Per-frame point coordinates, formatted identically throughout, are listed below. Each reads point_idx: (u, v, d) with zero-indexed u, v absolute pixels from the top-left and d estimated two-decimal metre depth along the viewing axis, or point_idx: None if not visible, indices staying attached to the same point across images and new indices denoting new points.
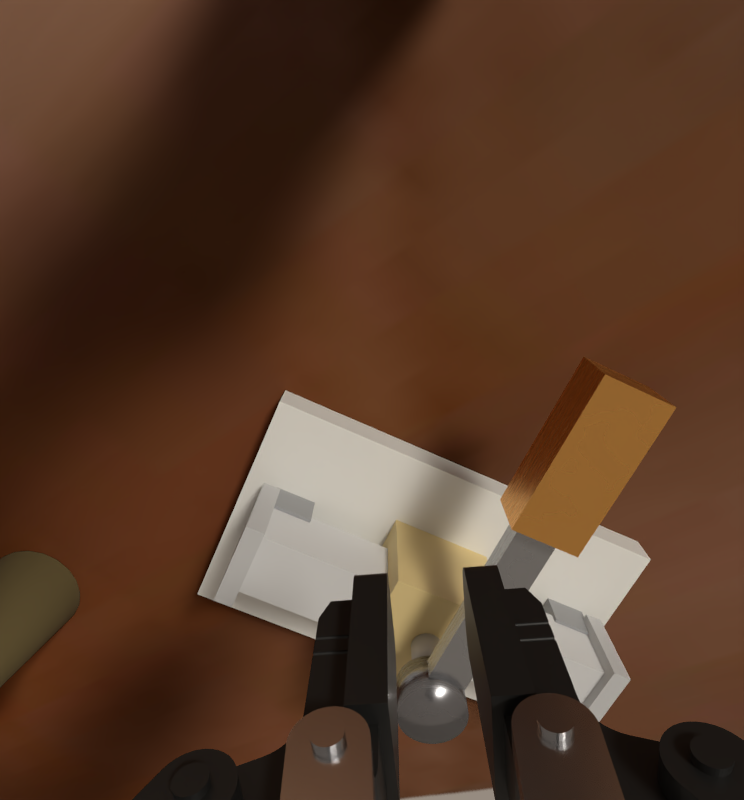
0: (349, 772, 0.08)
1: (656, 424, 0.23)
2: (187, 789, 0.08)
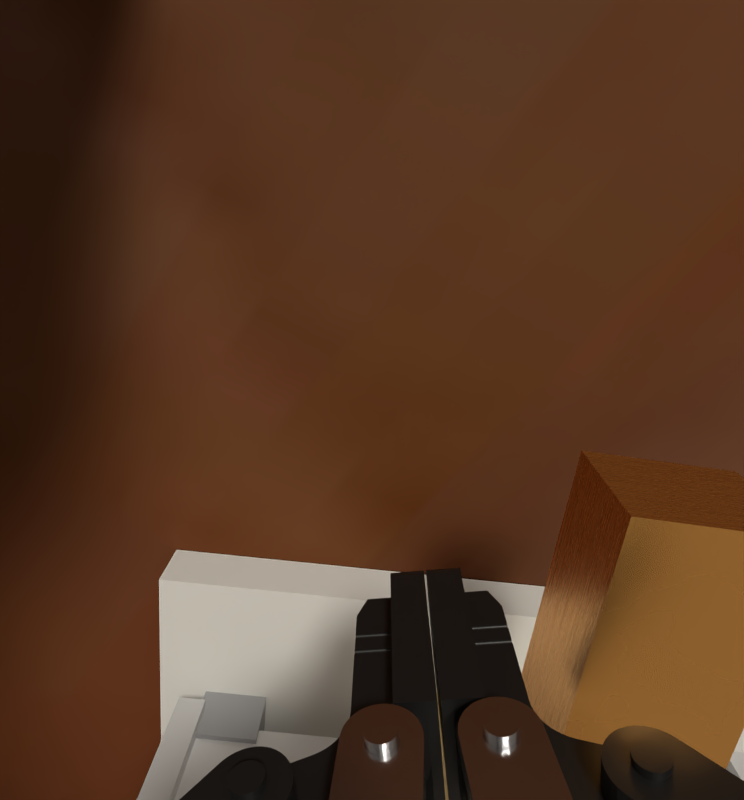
0: (406, 769, 0.08)
1: None
2: (243, 787, 0.08)
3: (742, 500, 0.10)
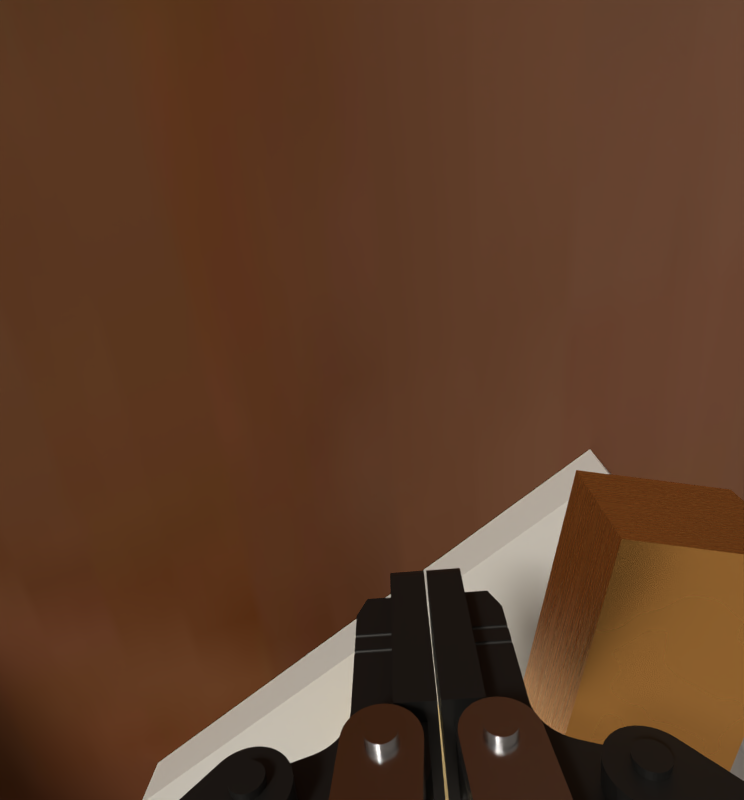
0: (406, 770, 0.08)
1: None
2: (243, 787, 0.08)
3: (735, 520, 0.11)
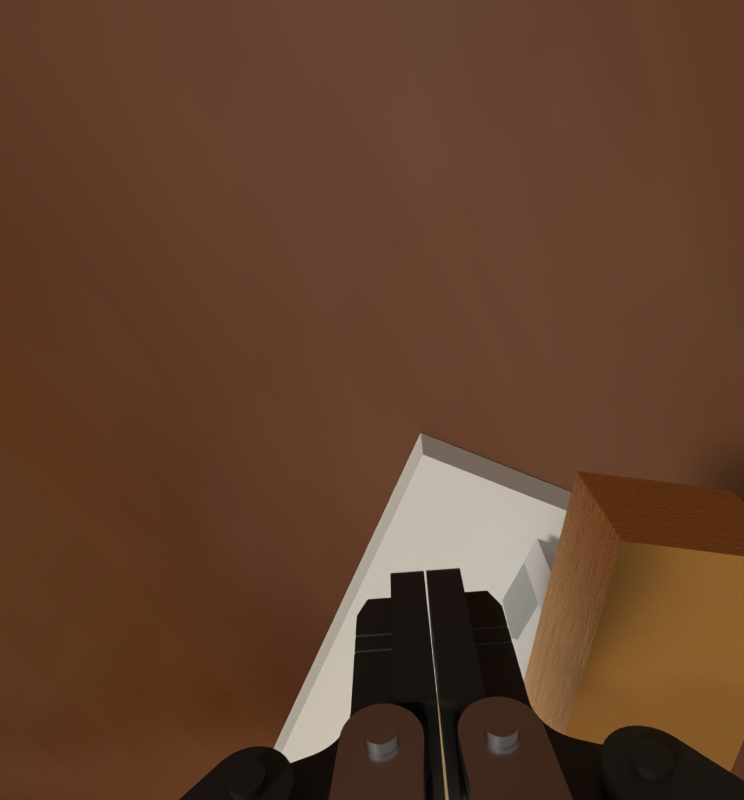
0: (406, 770, 0.08)
1: None
2: (243, 787, 0.08)
3: (736, 521, 0.10)
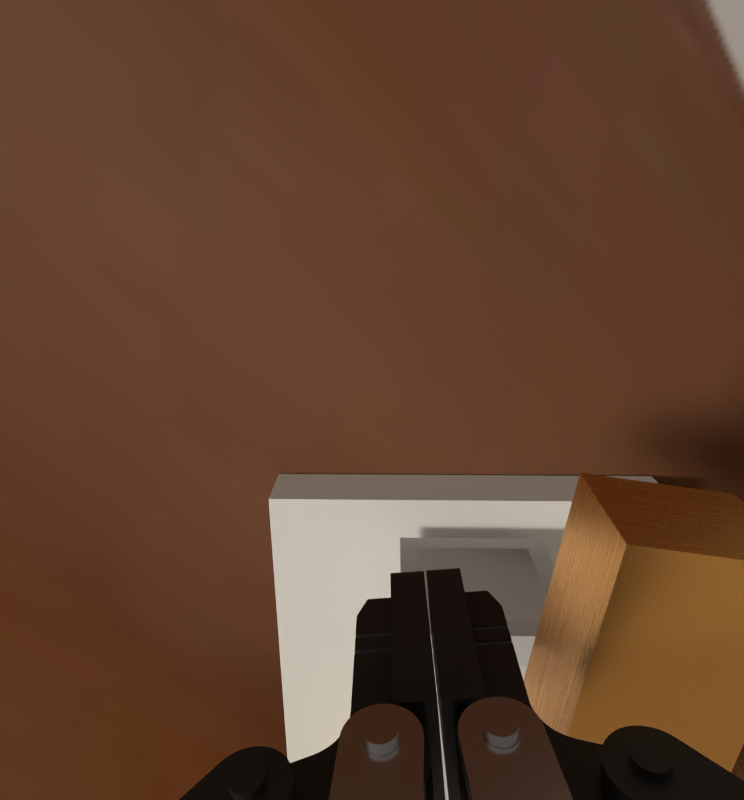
0: (406, 770, 0.08)
1: None
2: (243, 787, 0.08)
3: (739, 525, 0.10)
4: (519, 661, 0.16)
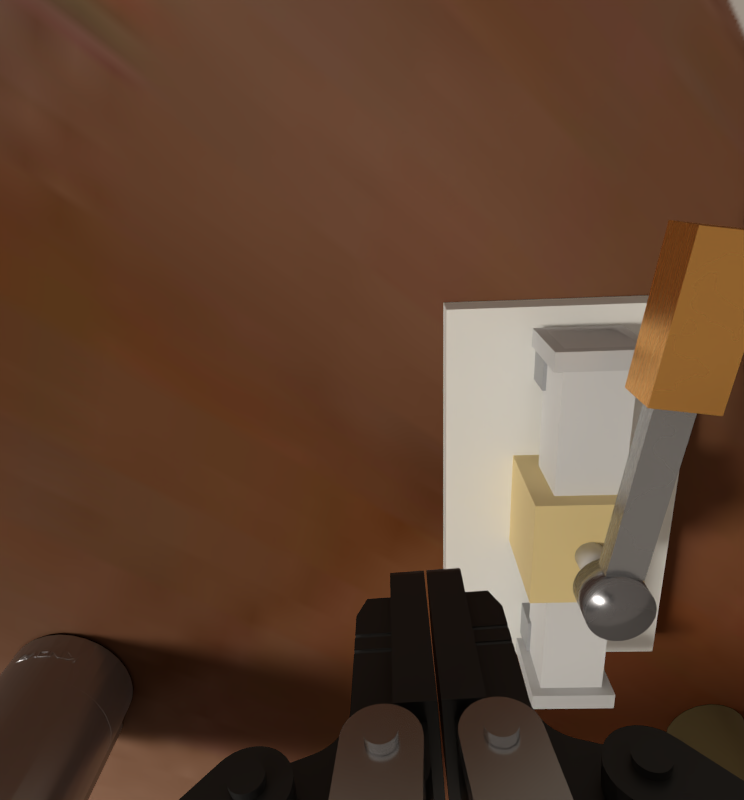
0: (406, 770, 0.08)
1: None
2: (242, 786, 0.08)
3: None
4: (622, 366, 0.29)
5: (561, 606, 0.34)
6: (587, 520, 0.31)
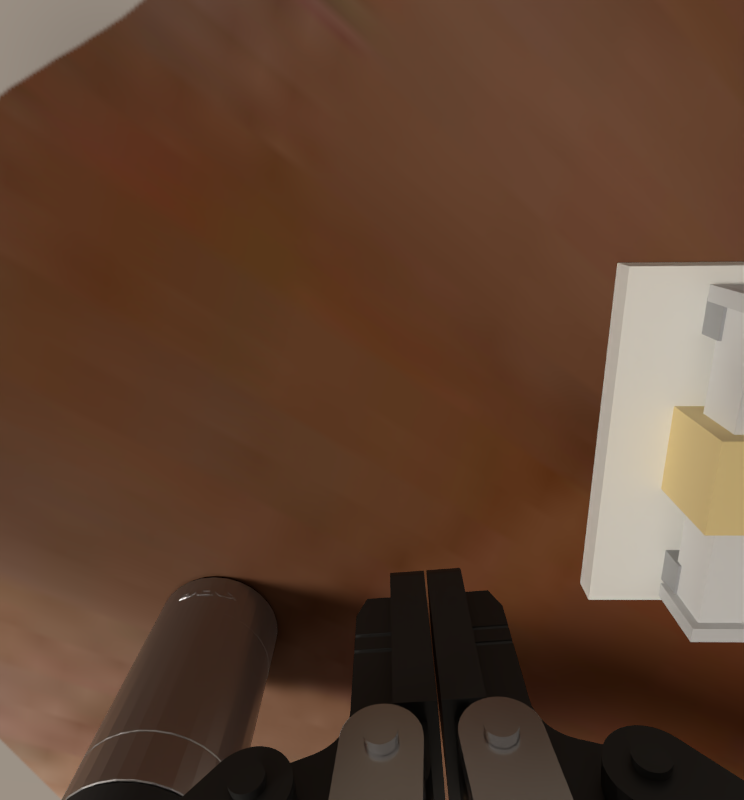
0: (405, 770, 0.08)
1: None
2: (242, 786, 0.08)
3: None
4: None
5: (727, 542, 0.37)
6: None
